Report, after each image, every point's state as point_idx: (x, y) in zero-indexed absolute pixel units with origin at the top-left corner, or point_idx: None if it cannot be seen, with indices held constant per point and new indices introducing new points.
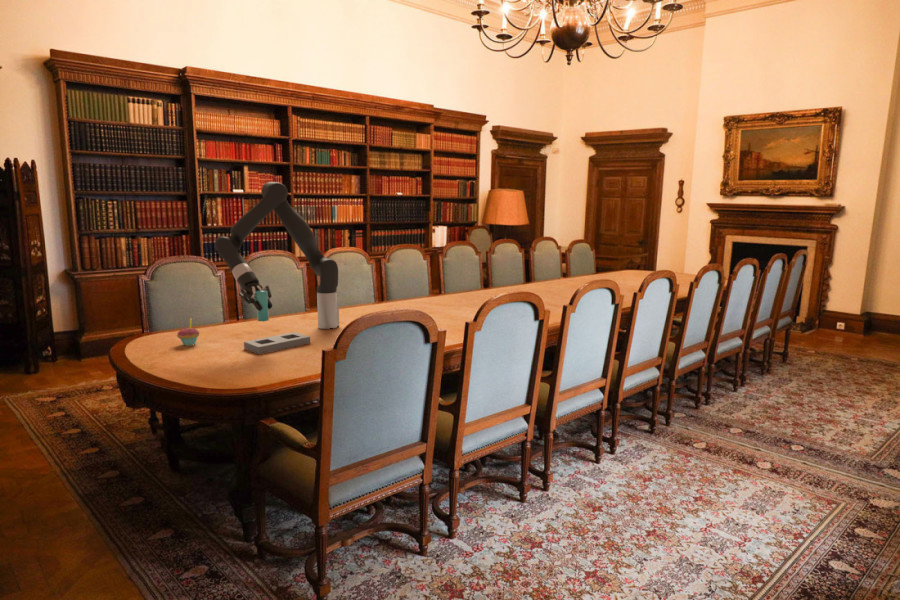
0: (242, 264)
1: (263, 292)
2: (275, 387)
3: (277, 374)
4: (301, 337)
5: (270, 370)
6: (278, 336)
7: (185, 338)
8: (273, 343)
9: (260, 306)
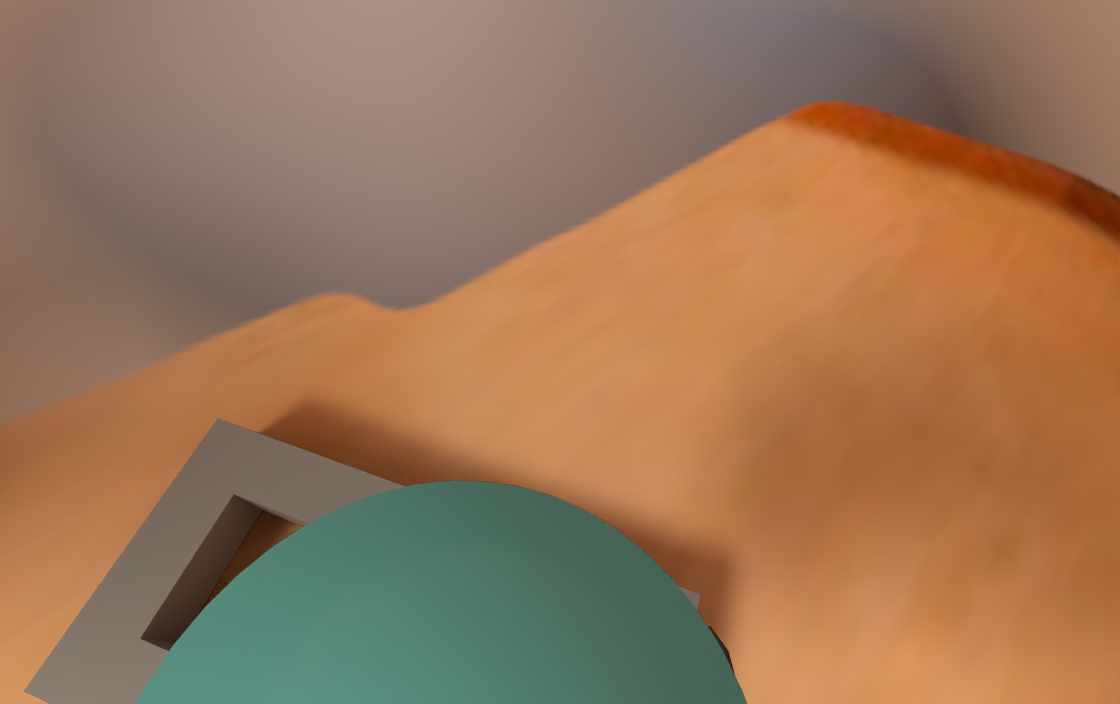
0: None
1: (596, 525)
2: (995, 148)
3: (887, 229)
4: (263, 466)
5: (873, 292)
6: None
7: None
8: None
9: None
